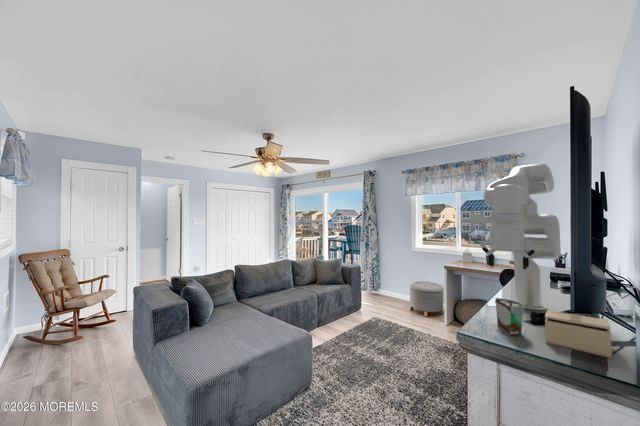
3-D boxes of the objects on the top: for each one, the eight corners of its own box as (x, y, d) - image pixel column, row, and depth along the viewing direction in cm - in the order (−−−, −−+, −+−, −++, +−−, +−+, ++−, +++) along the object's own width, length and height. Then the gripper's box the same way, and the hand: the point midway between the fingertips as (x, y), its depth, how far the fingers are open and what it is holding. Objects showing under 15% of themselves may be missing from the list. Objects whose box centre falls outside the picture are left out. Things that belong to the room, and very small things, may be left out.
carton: (548, 333, 92) (547, 312, 92) (608, 345, 82) (607, 322, 83) (546, 343, 84) (545, 320, 84) (611, 358, 74) (610, 332, 75)
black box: (534, 328, 98) (533, 315, 98) (516, 321, 105) (515, 309, 105) (561, 326, 100) (561, 313, 100) (542, 319, 107) (541, 307, 107)
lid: (547, 311, 92) (547, 309, 92) (607, 321, 82) (607, 319, 82) (545, 317, 84) (544, 315, 84) (610, 329, 75) (610, 326, 75)
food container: (533, 339, 87) (532, 308, 87) (512, 338, 88) (511, 307, 88) (514, 326, 99) (513, 298, 99) (495, 324, 100) (494, 297, 100)
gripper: (476, 219, 99) (477, 266, 98) (536, 218, 87) (538, 271, 86) (481, 220, 105) (482, 264, 104) (538, 219, 93) (540, 269, 92)
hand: (508, 267), depth 95 cm, fingers open, 9 cm apart
